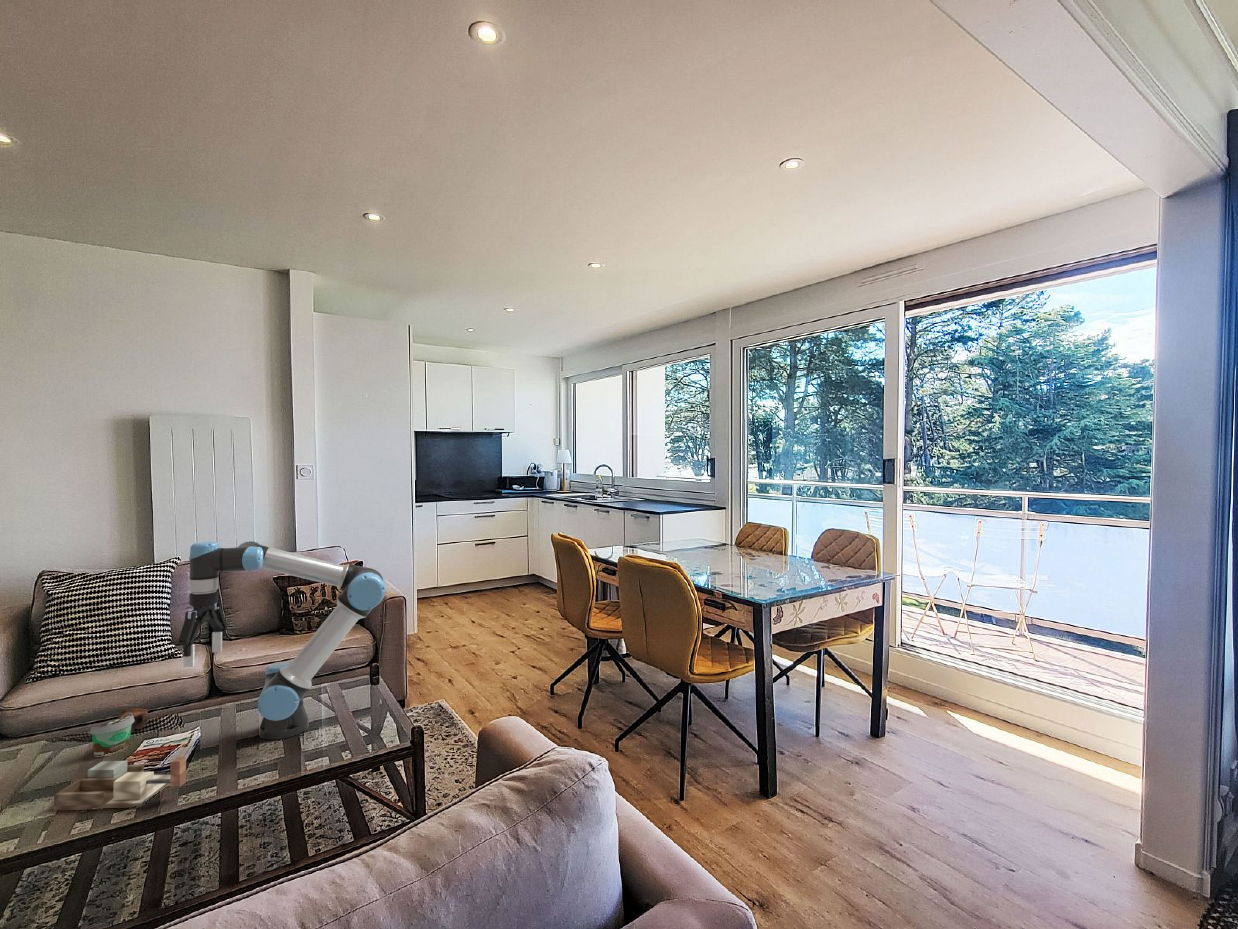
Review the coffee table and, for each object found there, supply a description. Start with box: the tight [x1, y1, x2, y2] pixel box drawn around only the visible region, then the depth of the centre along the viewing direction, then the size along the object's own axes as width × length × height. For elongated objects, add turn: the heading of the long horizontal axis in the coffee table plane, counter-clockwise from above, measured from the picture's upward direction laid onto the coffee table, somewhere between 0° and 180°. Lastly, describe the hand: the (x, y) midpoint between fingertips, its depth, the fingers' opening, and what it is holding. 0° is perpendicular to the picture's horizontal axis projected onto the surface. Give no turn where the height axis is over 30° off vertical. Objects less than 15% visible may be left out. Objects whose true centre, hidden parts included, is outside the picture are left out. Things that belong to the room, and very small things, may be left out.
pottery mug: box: [116, 708, 150, 733], centre depth 206 cm, size 12×10×8 cm
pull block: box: [113, 756, 187, 800], centre depth 163 cm, size 16×5×10 cm, turn 93°
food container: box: [89, 712, 134, 756], centre depth 190 cm, size 12×6×10 cm, turn 168°
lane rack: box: [53, 760, 170, 811], centre depth 166 cm, size 22×15×6 cm
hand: (203, 659), depth 185 cm, fingers open, 13 cm apart
